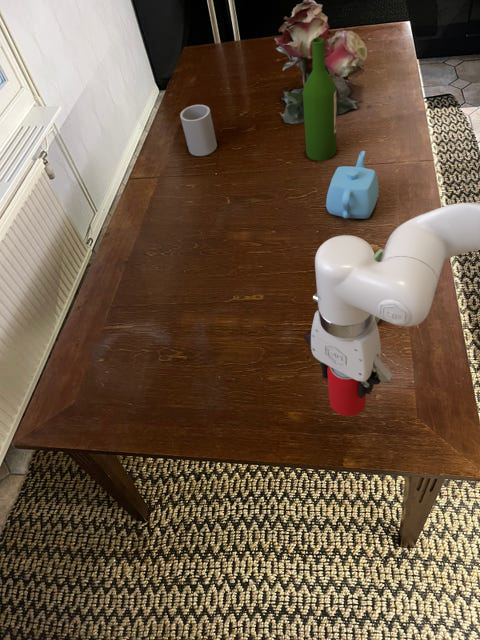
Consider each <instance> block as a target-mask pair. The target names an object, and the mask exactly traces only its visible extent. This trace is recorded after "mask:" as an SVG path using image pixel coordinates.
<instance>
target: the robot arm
mask: <svg viewBox="0 0 480 640" xmlns="http://www.w3.org/2000/svg"><path fill="white" fill-rule="evenodd" d="M383 248H384V249H383V250H384V251H383V253H382V256H381V258H380V261H379V262H377V261H376V260H375V254H376V253H375V252H374V249H373V247H372V246H371V245H370V243H368V242H367V241H366V240H364V239H363V238H361V237H359V236H356V235H350V234H343V235H337V236H333V237H330V238H328V239H327V240H325V241H324V242H323V243H322V244H320V246H319V247H318V249H317V251H316V253H315V257H314V269H315V270H314V271H315V281H316V283H315V284H316V292H315V293H314V295H313V296H312V302H314V303H315V304H316V305H317V308H318V309H317V310H316V312H315V313H314V316H313V320H312V325H311V330H308V331H307V332H306V333H305V334H304V335H303V340H304V341H305V342H306V343H307V344H308V345H309V346H310V349H311V354H312V355H313V357H314V358H315V359H316V360H317V362H318V363H319V364H320V368H321V373H322V374H321V376H322V378H323V379H327V380H328V373H327V369H328V366H330V367H332V368H334V369H335V370H337V371H339V372H341V373H343V374H345V375H347V376H349V377H351V378H353V379H355V380H357V381H361V382H360V383H359V385H358V396H359V398H361V399H363V397H364V396H365V394H366V395H370V394H371V392H372V391H373V390H374V385H376V386H377V385H380V383H381V384H388V383H390V382H391V380H392V379H393V378H394V374H393V373H392V372H391V371H390V369H389V368H388V367H387V366H386V365H385V363H384V362H383V361H382V360H381V357H382V353H381V352H382V348H381V347H382V345H381V337H380V331H379V327H378V323H376V321H375V320H374V319H373V315H374V316H376V317H378V318H380V320H382V321H384V322H386V323H389V324H392V325H395V326H399V327H409V328H410V327H414V326H418V325H419V324H421V323H423V321H425V320H426V318H427V317H428V315H429V313H430V311H431V309H432V305H433V302H434V297H435V295H436V290H437V287H438V284H439V280H440V278H441V272H442V271H443V267H444V263H445V261H446V260H448V259H450V258H453V257H456V256H459V255H460V256H461V255H463V254H467V253H470V252H473V251H474V252H475V251H480V202H479V203H478V202H457V203H452V204H447V205H444V206H441V207H439V208H436V209H433V210H430V211H428V212H427V211H426V212H425V213H422V214H420V215H416V216H415V217H412V218H410V219H409V220H407V221H404V222H403V223H402V224H400V225H399V226H397V227H396V228H395V229H394V230H393V231H392V233H391V234H390V235H389V237H388V238H387V241H386V244H385V246H384V247H383Z"/></svg>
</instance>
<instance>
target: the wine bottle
mask: <svg viewBox="0 0 480 640" xmlns="http://www.w3.org/2000/svg"><path fill="white" fill-rule="evenodd" d="M312 53H313V70H312V72H311V74H310V76H309V78H307V81H306V83H305V85H304V84H303V88H304V89H303V103H304V121H305V122H304V138H305V139H304V140H305V154H306V156H307V158H309V159H310V160H313V161H317V162H318V161H319V162H320V161H327V160H330V159H332V158H333V157H335V155H336V153H337V115H336V87H335V82H334V81H333V77H332V76H331V75H330V74H328V72H327V71H326V69H325V58H324V39H323V38H315V39H313V40H312Z"/></svg>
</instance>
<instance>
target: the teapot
mask: <svg viewBox="0 0 480 640" xmlns="http://www.w3.org/2000/svg"><path fill="white" fill-rule="evenodd" d="M365 156H366V151H365V150H361V151H360V153H359V154H358V158H357V161H356V165H355V166H351V165H349V166H346V165H342V166H338V167H337V168H336V170H335V172H334V174H333V176H332V178H331V181H330V184H329V187H328V191H327V194H326V201H325V202H326V203H325V207H326V210H327V212H328V213H329V214H330V215H333V216H337V217H340V218H341V217H342V218H343V219H346V220H347V219H359V220H360V219H369V218H370V217H371V215H372V213H373V212H374V209H375V207H376V205H377V201H378V197H379V191H380V190H379V181H378V177H377V173H376V171H375V170H374V169H371V168H366V167H365Z"/></svg>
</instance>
